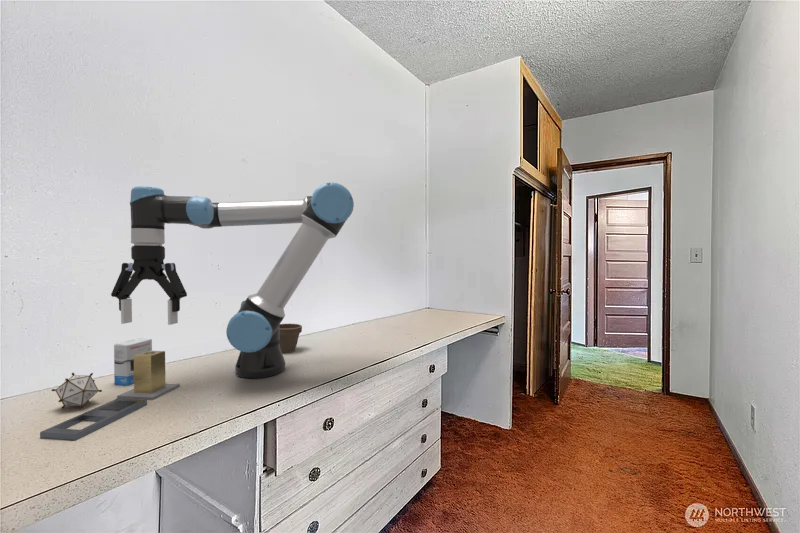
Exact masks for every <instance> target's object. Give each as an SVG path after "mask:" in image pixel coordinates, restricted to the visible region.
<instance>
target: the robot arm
mask: <svg viewBox="0 0 800 533" xmlns="http://www.w3.org/2000/svg"><path fill="white" fill-rule="evenodd" d="M354 204H355V203H354V198H353V196H352V193H351V192H350V190H349V189H348V188H347V187H345V186H344V185H343V184H341V183H338V182H326V183H323V184H321V185H319V186H318V187H317V188H316V189H315V190H314V191H313V193H312V195H305V197H304V198H303V199H283V200H282V199H281V200H279V199H277V200H254V201H253V200H252V201H225V202H222V201H221V202H212V200H211V199H210V198H208V197H203V196H198V195H194V196H186V195H185V196H184V195H183V196H182V195H181V196H180V195H179V196H178V195H177V196H176V195H165V190H164V189H162V188H160V187H155V186H144V185H141V186H140V185H138V186H134V187H132V188H131V190H130V201H129V206H130V243H131V244H133V245H131V247H130V248H131V249H130V250H131V252H130V254H131V255H130V256H131V260H133V263H132V262H122V264H121V271H120V272H119V275H118V278H117V280H116V282H115V284H114V286H113V289H112V291H111V294H110V296H111V297H112V298H116V299H118V310H119V311H120V324H121V325H123V324H130V323H132V322H133V308H132V307H133V304H132V303H133V302H132V301H133V298H131V295H132V293H133V292H134V291H135V290H136V288H137V287H138V286H139V284H140V283H141V282H142V281H143V280H144V281H145V280H147V281H151V280H153V281H154V282H156V283H157V284H158V285H159V286H160V287H161V288H162V289H161V290H163V291H164V292H165V293H166V295H167V297H169V299H168V300H167V325H168V326H169V325H170V326H171V325H174V324H178V323H179V322H178V319H179V318H178V316H179V315H178V314H179V312H180V309H181V299H182V298H186V297H187V296H188V293H187V291H186V289H185V286H184V285H183V282H182V281H181V278H180V276H179V273H178V272H177V266H176V264H175V262H164V260H165V258H166V248H165V246H164V244H165V243H166V242H165V241H166V240H165V229H166V228H165V225H166V224H176V225H181V224H182V225H190V226H194V227H198V228H201V229H206V230H207V229H213V228H221V227H240V226H241V227H243V226H264V225H265V226H267V225H288V224H289V225H290V224H301V225H300V227H299V228H298V230H297V231H296V232H295V234H294V235H293V237H292V238H291V240H290V242H289V243H288V245H287V246H286V248H285V250H284V251H283V253H281V256H279V259H278V260H277V262H276V263H275V265H274V267H273V268H272V269H271V270H270V272H269V274H268V276H267V277H266V279H265V280H264V282H263V283H262V284H261V286H260V287H259V290H258V291H257V292H256V293H253V294H249V295H248V296H247V298H246V299H245V300H243V301H241V304H240V307H239V309H238V311H237V312H236V314H234V315H233V316H232V317H231V318H230V319H229V321H228V322H227V323H228V324H227V325H226V332H225V333H226V338H227V340H228V343H230V345H231V346H232V347H233V348H234V349H235V350H237V351H239V355H238V357H237V360H236V363H235V367H234V373H235V376H237V377H238V378H244V379H260V378H268V377H272V376H276V375H279V374H281V373H283V372H284V371H285V370H286V360H285V357H284V355H283V354H284V353H282V351H281V349H280V326H279V325H280V324H282V322H283V320H284V318H285V316H286V314H285V310H284V308H286V306H287V304H288V302H289V301H290V299H291V298H292V297H293V294H294V293H295V292H296V290H297V288H298V287H299V285H300V284H301V282H302V280H303V279H304V278H305V276H306V274H307V273H308V272H309V269H310V268H311V267H312V265H313V263H314V262H315V261H316V259H317V257H318V256H319V254H320V253H321V251H322V250H323V248H324V246H325V245H326V243H327V241H329V239H333V238H336V237H337V236H338V234H339V232H341V229H342V228H343V226H344V225H345V223H346V221H348V219H349V218H350V217H351V215H352V213H353V211H354V207H355V206H354ZM164 271H165V272H164Z"/></svg>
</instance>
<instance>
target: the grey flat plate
mask: <svg viewBox="0 0 800 533" xmlns="http://www.w3.org/2000/svg"><path fill="white" fill-rule="evenodd" d="M147 405H148V400H147V399H128V398H117V397H116V398H115V399H113V400H111V401H109V402H106V403H104V404H101V405H99V406H97V407H94V408H92V409H90V410H88V411H86V412H83V413H80V414H78V415H77V416H74V417H72V418H69V419H67V420H65V421H62V422H60V423H58V424H56V425H53V426H51V427H48V428H47V429H44V430H42V431H39V438H40V439H49V440H64V441H77V440H79V439H81V438H84V437H85V436H87V435H90V434H91V433H93V432H95V431H97V430H99V429H101V428H103V427H105V426H107V425H109V424H111V423H113V422H115V421H116V420H119V419H121V418H123V417H125V416H127V415H129V414H131V413H133V412H135V411H137V410H138V409H139V410H140V409H141V408H143V407H145V406H147ZM81 422H94V423H92V424H90V425H87V426H86V427H83V428H81V429H77V428H75V429H73V428H70V427H72V426H75V425H76V424H77V425H78V423H81Z"/></svg>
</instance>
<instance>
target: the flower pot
mask: <svg viewBox="0 0 800 533" xmlns="http://www.w3.org/2000/svg"><path fill="white" fill-rule="evenodd" d="M279 326H280V349H281V351H282V354H290V353H293V352H295V351H296V348H297V346H298V342H299V338H300V334H301V333H302V330H303V325H301V324H299V323H280V325H279Z"/></svg>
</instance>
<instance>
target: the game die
mask: <svg viewBox="0 0 800 533" xmlns="http://www.w3.org/2000/svg"><path fill="white" fill-rule="evenodd" d="M93 374H94V373H93V372H91V373H90V374H89V375H85V374H84V375H81V374H80V375H77V374H75V372H72V373H71V376H70V377H69V378H67V377H66V378H65V379H64V382H63V383H61V384H60V385H59V386H58V387H57V388H52V389H50V390H51V391H52V392H56V395H57V396H58V398H59V400H58V401H57V402H58V403H62V406H61V407H60V408H61V410H63V409H64V408H65V407H80V409H81V410H83V409H84V405H85V404H86V403H88V402H89V401H90V399H91V398H93V397H94V396H95V395H96V394H97V393H98V392H99V393H101V392H103V390H102V389H99V388H98V387H97V385H96V383H95V379H93V378H92V376H93Z"/></svg>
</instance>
